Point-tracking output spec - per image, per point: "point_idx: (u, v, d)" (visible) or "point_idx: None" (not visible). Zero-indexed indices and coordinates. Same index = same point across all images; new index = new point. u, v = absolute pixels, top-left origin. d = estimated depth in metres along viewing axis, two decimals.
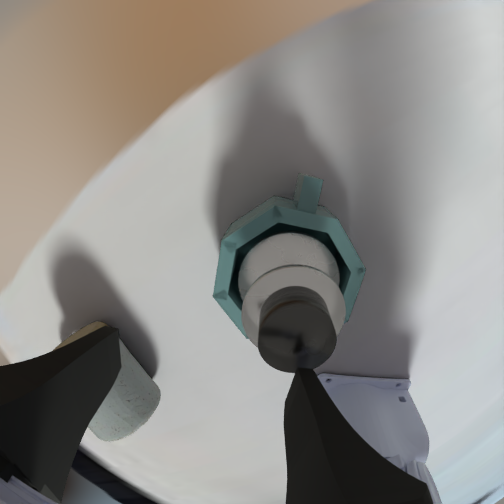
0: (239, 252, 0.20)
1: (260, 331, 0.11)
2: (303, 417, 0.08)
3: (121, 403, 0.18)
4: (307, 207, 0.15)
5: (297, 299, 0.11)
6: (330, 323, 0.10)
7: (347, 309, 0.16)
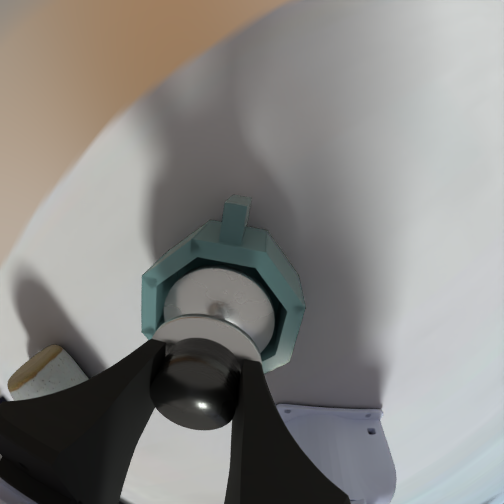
0: None
1: (151, 388, 0.09)
2: (240, 409, 0.08)
3: None
4: (230, 239, 0.13)
5: (188, 358, 0.09)
6: (223, 389, 0.09)
7: (287, 350, 0.15)
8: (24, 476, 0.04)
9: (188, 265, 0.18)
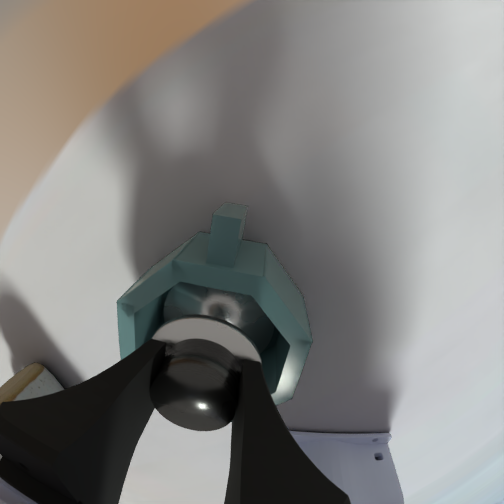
0: (163, 302, 0.15)
1: (151, 389, 0.09)
2: (240, 409, 0.08)
3: None
4: (220, 260, 0.11)
5: (188, 358, 0.09)
6: (223, 390, 0.09)
7: (289, 386, 0.12)
8: (24, 476, 0.04)
9: None
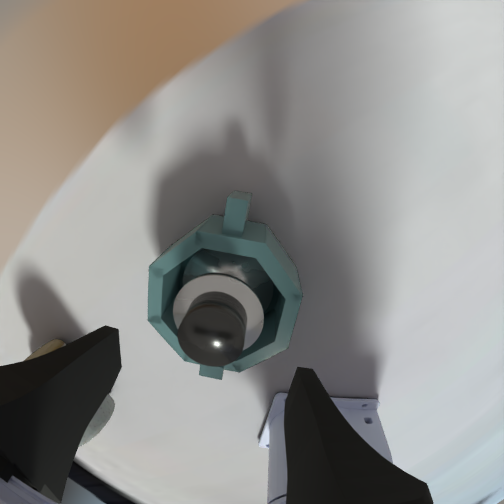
0: (181, 273, 0.19)
1: (178, 329, 0.13)
2: (303, 417, 0.08)
3: None
4: (232, 231, 0.14)
5: (208, 303, 0.13)
6: (235, 325, 0.12)
7: (285, 336, 0.16)
8: None
9: None
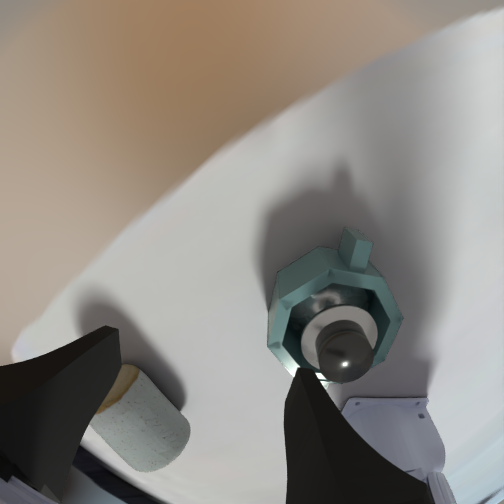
0: None
1: (322, 355, 0.14)
2: (303, 417, 0.08)
3: (157, 440, 0.19)
4: (357, 268, 0.16)
5: (347, 331, 0.15)
6: (370, 347, 0.14)
7: (384, 351, 0.17)
8: None
9: None
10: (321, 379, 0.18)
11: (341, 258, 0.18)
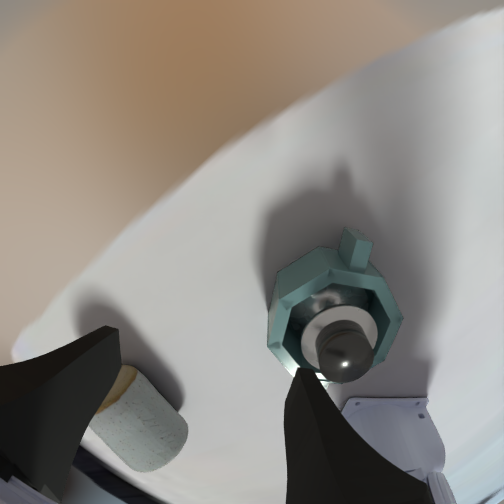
0: None
1: (322, 355, 0.14)
2: (303, 417, 0.08)
3: (155, 441, 0.19)
4: (357, 268, 0.16)
5: (347, 331, 0.15)
6: (370, 347, 0.14)
7: (384, 351, 0.17)
8: None
9: None
10: (321, 379, 0.18)
11: (341, 258, 0.18)
